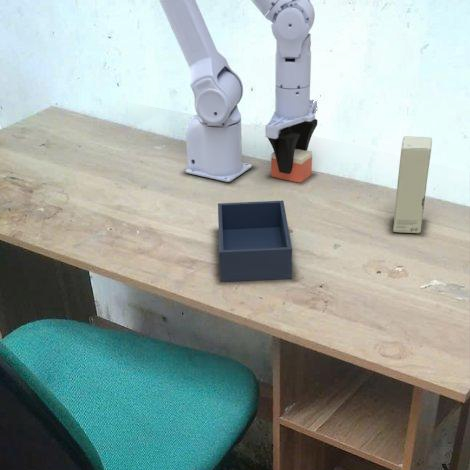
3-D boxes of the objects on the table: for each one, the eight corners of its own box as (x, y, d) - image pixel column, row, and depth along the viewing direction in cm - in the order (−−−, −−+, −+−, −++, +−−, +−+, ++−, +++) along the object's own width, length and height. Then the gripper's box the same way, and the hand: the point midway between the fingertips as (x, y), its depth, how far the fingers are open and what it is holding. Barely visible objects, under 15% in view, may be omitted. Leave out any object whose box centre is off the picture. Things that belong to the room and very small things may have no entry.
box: (420, 234, 123) (432, 149, 114) (391, 233, 124) (401, 148, 115) (421, 220, 127) (433, 135, 118) (393, 218, 127) (403, 134, 118)
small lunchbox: (271, 176, 141) (271, 153, 138) (282, 168, 143) (282, 145, 141) (300, 183, 139) (301, 159, 136) (311, 175, 141) (312, 151, 138)
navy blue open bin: (219, 231, 126) (217, 203, 123) (283, 228, 126) (283, 200, 123) (220, 282, 115) (219, 251, 111) (291, 278, 115) (291, 248, 111)
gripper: (292, 100, 125) (290, 187, 134) (334, 74, 133) (330, 157, 143) (254, 94, 127) (255, 179, 137) (297, 69, 136) (296, 151, 145)
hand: (291, 167), depth 140 cm, fingers closed on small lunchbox, 4 cm apart
